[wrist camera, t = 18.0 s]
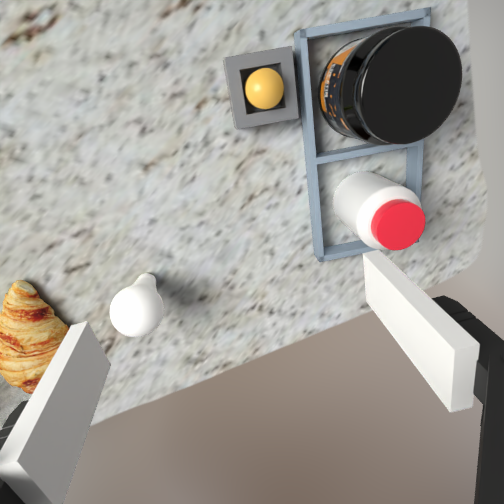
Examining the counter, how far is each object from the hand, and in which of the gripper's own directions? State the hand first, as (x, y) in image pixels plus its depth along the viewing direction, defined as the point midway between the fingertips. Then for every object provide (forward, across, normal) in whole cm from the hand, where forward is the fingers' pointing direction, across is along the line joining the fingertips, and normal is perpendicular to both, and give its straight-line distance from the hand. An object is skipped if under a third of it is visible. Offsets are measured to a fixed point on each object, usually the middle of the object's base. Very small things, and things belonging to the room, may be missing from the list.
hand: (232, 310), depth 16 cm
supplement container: (+30, +19, +5) cm, 36 cm away
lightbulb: (+30, -13, -12) cm, 35 cm away
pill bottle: (+30, +18, -8) cm, 36 cm away
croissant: (+30, -30, -18) cm, 46 cm away
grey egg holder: (+30, +7, +8) cm, 32 cm away
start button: (+29, +7, +8) cm, 30 cm away
